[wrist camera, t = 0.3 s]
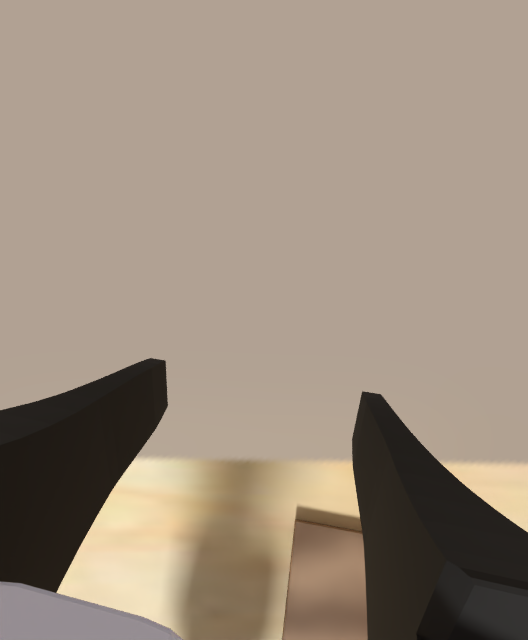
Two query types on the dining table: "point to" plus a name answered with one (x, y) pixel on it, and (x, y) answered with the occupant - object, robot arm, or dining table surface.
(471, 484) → the dining table surface
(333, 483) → the dining table surface
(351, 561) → the board
